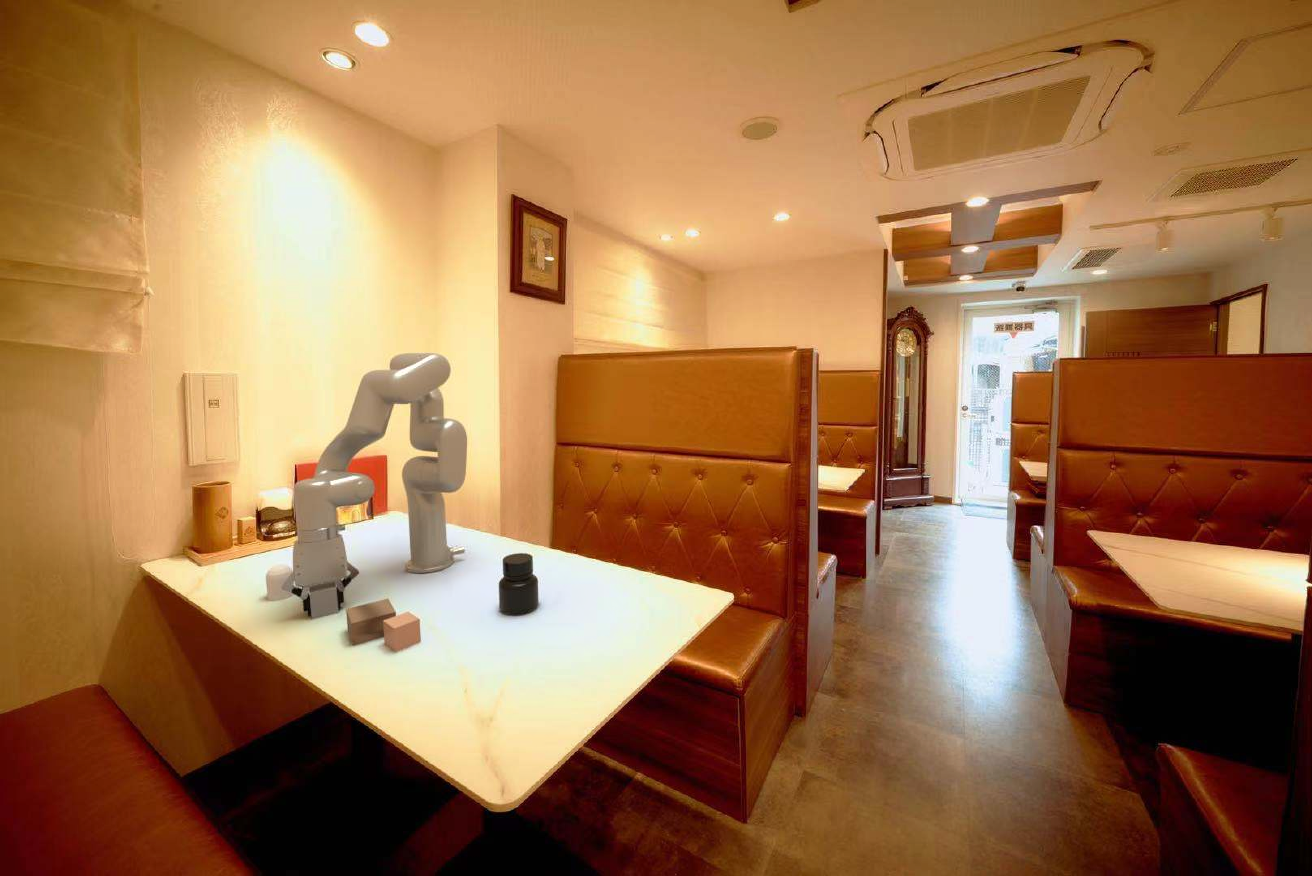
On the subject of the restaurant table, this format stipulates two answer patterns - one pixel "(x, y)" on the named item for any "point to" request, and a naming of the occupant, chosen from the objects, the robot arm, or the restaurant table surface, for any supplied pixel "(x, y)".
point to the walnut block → (368, 620)
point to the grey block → (323, 599)
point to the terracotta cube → (401, 631)
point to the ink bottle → (518, 585)
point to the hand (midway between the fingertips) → (324, 609)
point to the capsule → (278, 582)
